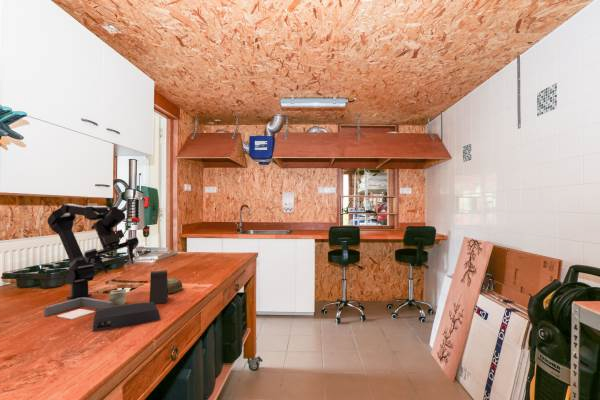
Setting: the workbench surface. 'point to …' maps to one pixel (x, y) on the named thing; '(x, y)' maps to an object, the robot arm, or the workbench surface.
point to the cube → (118, 297)
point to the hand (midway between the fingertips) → (120, 268)
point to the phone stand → (158, 287)
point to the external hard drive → (125, 316)
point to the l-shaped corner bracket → (76, 303)
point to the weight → (174, 285)
